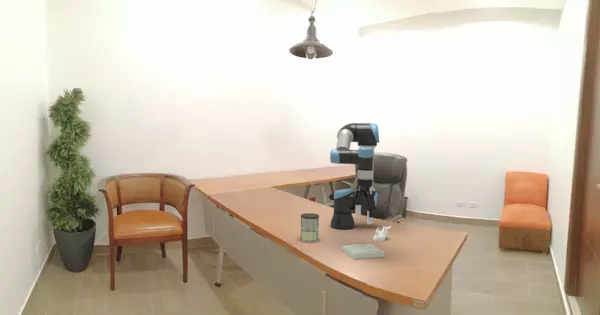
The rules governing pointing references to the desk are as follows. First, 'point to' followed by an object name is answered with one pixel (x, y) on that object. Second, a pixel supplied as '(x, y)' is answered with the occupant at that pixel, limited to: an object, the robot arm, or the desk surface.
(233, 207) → the desk surface
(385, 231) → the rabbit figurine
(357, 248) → the tray
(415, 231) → the desk surface
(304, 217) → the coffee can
